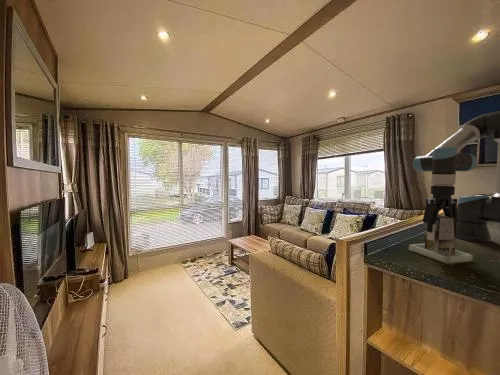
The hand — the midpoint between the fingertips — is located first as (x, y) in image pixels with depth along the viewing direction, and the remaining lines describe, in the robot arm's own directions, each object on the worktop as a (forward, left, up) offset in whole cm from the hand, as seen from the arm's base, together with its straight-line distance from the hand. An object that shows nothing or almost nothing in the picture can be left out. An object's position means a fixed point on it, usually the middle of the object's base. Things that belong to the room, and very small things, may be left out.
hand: (439, 239), depth 94 cm
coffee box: (0, 0, -7) cm, 7 cm away
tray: (0, 0, -7) cm, 7 cm away
